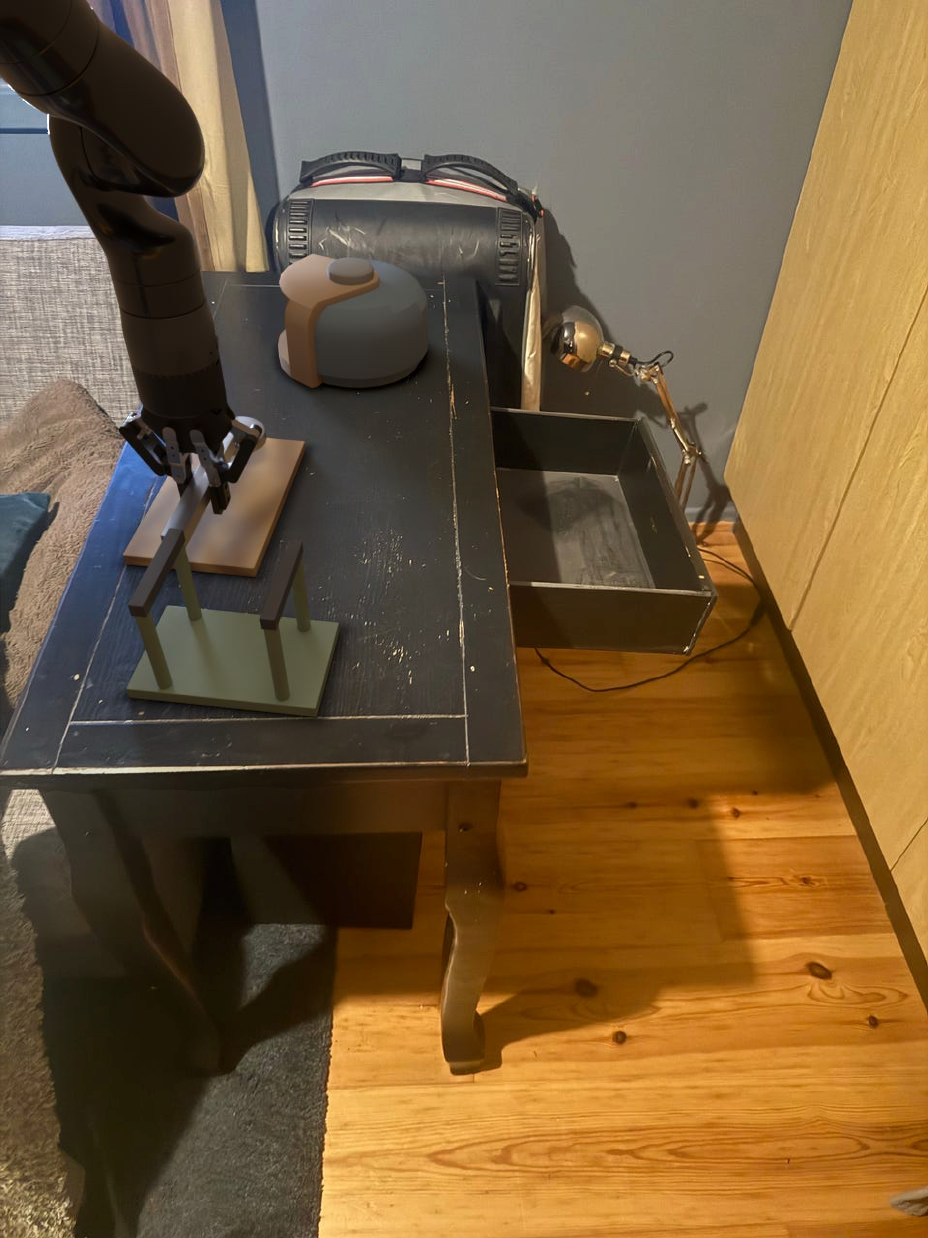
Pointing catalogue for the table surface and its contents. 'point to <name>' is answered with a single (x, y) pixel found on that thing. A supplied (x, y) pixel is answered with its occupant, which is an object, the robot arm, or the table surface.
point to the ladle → (204, 488)
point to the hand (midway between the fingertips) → (208, 507)
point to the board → (227, 515)
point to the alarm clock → (351, 322)
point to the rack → (231, 643)
